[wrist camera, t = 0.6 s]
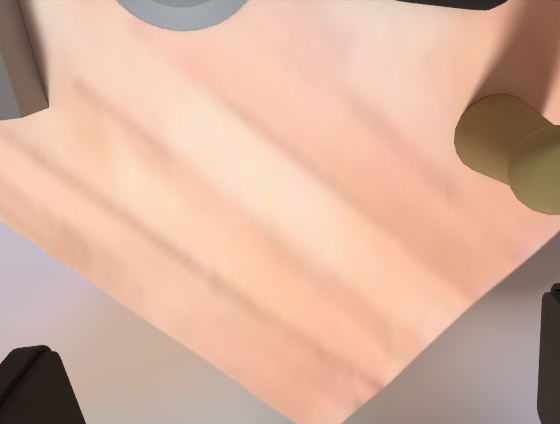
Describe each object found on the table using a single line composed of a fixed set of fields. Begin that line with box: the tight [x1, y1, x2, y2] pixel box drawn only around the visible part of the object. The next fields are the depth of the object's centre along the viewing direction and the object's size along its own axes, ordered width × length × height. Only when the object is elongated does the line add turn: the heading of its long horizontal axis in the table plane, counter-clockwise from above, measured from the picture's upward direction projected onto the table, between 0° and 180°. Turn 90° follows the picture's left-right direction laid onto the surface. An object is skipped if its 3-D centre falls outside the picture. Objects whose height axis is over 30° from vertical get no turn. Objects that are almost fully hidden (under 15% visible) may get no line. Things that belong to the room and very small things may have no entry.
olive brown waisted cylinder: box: [454, 94, 560, 215], centre depth 32 cm, size 6×6×11 cm
